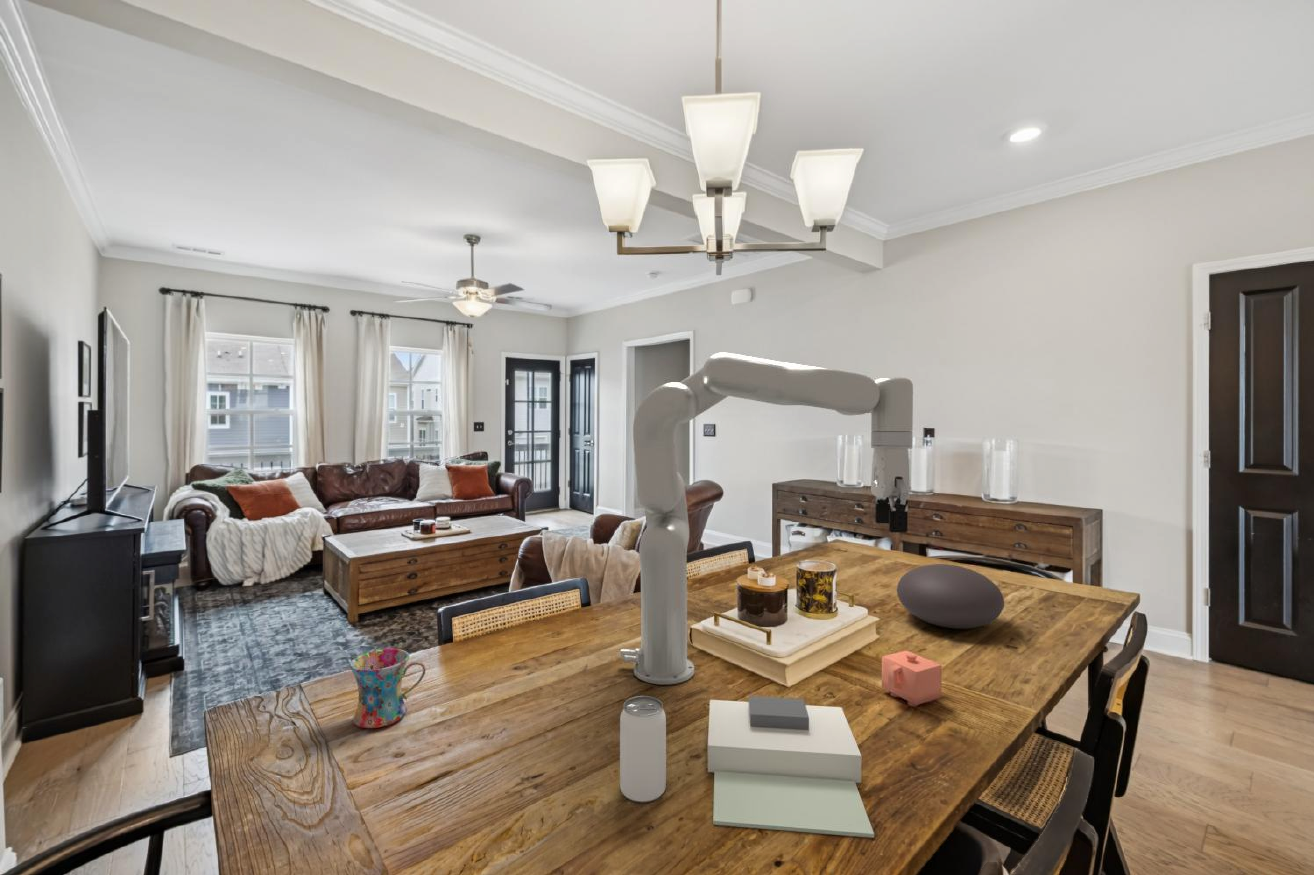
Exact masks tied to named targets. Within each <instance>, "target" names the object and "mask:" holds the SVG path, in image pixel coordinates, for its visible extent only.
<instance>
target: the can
mask: <svg viewBox="0 0 1314 875" xmlns="http://www.w3.org/2000/svg"><path fill="white" fill-rule="evenodd" d="M666 718H667V717H666V713H665V710H664V704H663V702H662V701H661V700H660V699H658V698H656V697H653V696H650V695H649V696H648V695H640V696H639V695H638V696H633V697H630V698H628V699H626V701H625V702H624V703H623V706H622V712H621V713H620V717H619V719H620V720H619V721H620V722H619V728H620V729H619V784H620V786H619V789H620V791H621V793H622V795H623V796H624V797H625V798H626V799H628V800H629V801H632V802H635V803H640V804H641V803H642V804H643V803H651V802H653V801H656V800H657V799H659V798H660V797H661V796H662V795H663V794H664V793H665V790H666V785H667V784H666V780H667V778H666V777H667V770H666V769H667V726H666V725H667V719H666Z"/></svg>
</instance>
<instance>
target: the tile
mask: <svg viewBox="0 0 1314 875" xmlns="http://www.w3.org/2000/svg"><path fill="white" fill-rule="evenodd" d="M748 702H749V717H750V727H763V728H779V729H795V730H809V716H808V713H807V709H806V706H805V705H806V703H805V699H804V698H792V697H773V696H753V695H748Z"/></svg>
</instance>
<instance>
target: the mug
mask: <svg viewBox="0 0 1314 875" xmlns="http://www.w3.org/2000/svg"><path fill="white" fill-rule="evenodd" d="M409 659H410V654H409V652H408V651H406V650H403V649H400V648H384V649H382V648H381V649H377V650H372V651H369V652H366V653H363V654H361V655H358V656H357V657H355V658H354V659H352V661H351V662H350V664H349V668H350V669H351V671H352V673H353V676H354V678H355V681H356V684H357V688H358V689H357V690H358V702H357V703H358V704H357V708H356V712H355V714H354V715H353V718H352V719H353V723H354V725H356V726H357V727H359V728H363V729H377V728H382V727H385V726H389V725H391V724H394V723H395V722H397V721H399V720H401V719H402V718H403V717H404V716H405V715H406V714H407V711H408V707H407V704H406V702H405V700H407V699H408V696H407V694H408V693H410V692H412V690H414V689H415V688H417V686H418V685H419V684H420V683H421V681H422V680H423V678H424V676H425V675H426V670H427V669H426V665H425V664H424V663H423V662H421V661H413V662H410V663H409V664H408V665H407V663H408V660H409ZM416 665H419V666H421V667H422V674H421V676H420V677H419V679H418V680H417V682H415V684H413V685H412V686H410V687H409V688H407V689H406V690H405V691H403V689H402V685H403V684H402V682H403V677H405V676H406V672H407V671H408V669H409V668H410V667H412V666H416Z"/></svg>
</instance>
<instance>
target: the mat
mask: <svg viewBox="0 0 1314 875" xmlns="http://www.w3.org/2000/svg"><path fill="white" fill-rule="evenodd" d="M713 773H714V779H713V782H714V783H713V810H712V811H713V813H712V815H713V817H712V819H713V820H712V824H713V825H714V826H715V825H716V826H726V827H728V826H729V827H737V828H739V827H740V828H750V829H762V830H764V829H765V830H775V831H786V832H787V831H788V832H799V833H812V834H822V835H823V834H824V835H835V836H848V837H859V838H872V839H874V838H875V832H874V830H873V827H872V825H871V822H870V818H869V817H868V814H867V810H866V808H865V805H864V802H863V801H862V800H863V799H862V797H861V794H860V791H859V790H858V787H857V783H855V781H844V780H830V779H816V778H802V777H788V776H774V775H760V774H747V773H733V772H719V771H714V772H713Z"/></svg>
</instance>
